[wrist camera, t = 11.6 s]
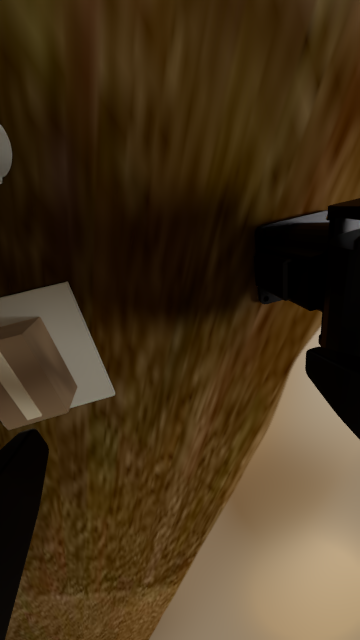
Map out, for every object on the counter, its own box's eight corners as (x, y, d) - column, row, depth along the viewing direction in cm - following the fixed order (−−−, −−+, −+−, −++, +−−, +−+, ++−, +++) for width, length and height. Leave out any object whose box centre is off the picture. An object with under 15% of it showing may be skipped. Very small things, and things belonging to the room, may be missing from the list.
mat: (67, 281, 17) (66, 282, 16) (115, 392, 21) (114, 395, 21) (-74, 315, 16) (-79, 317, 15) (7, 422, 20) (5, 426, 20)
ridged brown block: (77, 386, 20) (67, 414, 17) (26, 401, 19) (7, 432, 17) (40, 316, 17) (20, 335, 14) (-22, 332, 17) (-55, 354, 14)
